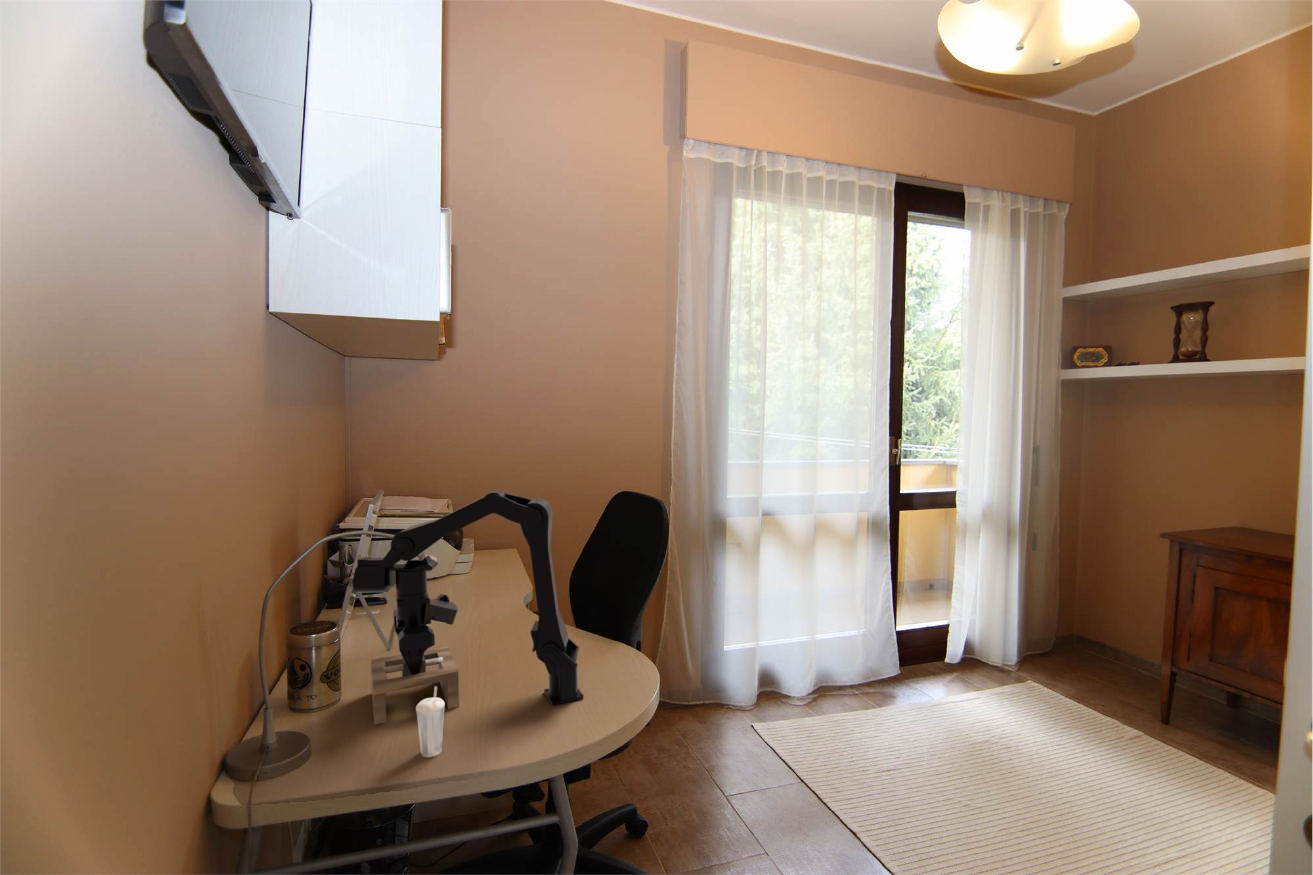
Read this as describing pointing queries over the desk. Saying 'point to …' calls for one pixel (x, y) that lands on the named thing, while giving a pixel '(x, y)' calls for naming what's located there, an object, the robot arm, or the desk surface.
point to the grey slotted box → (407, 671)
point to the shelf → (413, 679)
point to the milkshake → (430, 725)
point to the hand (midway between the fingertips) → (413, 668)
